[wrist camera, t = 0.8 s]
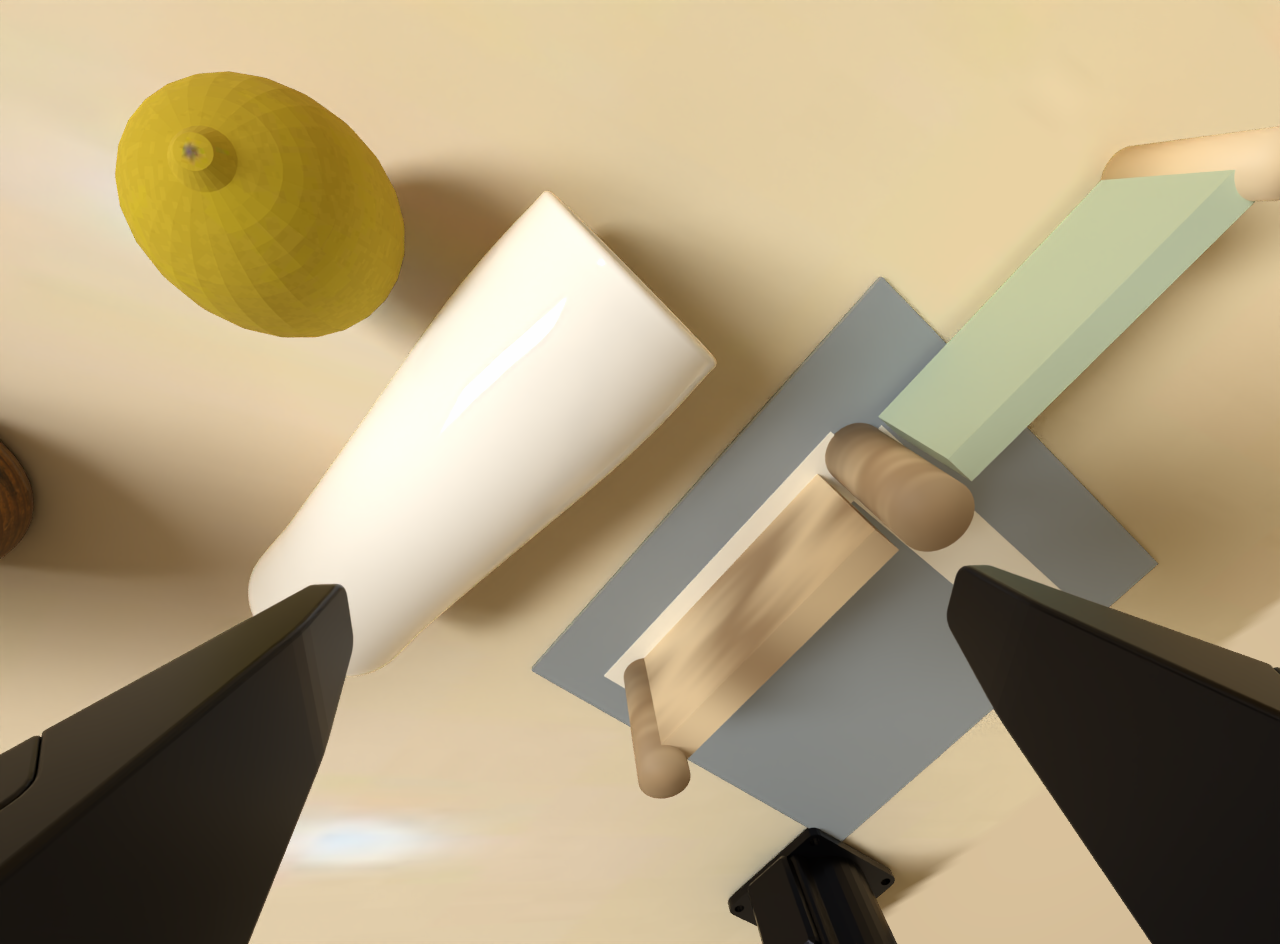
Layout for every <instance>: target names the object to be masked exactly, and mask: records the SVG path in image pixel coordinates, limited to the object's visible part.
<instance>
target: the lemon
mask: <svg viewBox="0 0 1280 944" xmlns="http://www.w3.org/2000/svg"><path fill="white" fill-rule="evenodd" d="M115 178H116V184H117V190H118V196H119V202H120V207H121V209H122V211H123V214H124V216H125V218H126V220H127V223H128V225H129V227H130V229H131V232H132V234H133V236H134V238H135V240H136V242H137V243H138V244H139V246H140V247H141V248H142V250H143V251H144V252H145V253H146V255H147V256H148V257H149V259H150V260H151V261H152V263H153V264H154V265H155V266H156V268H157V269H158V270H159V271H160V273H161V274H162V275H163V276H164V277H165V278H166V279H167V280H168V281H169V282H171V283H172V284H173V285H174V286H176V287H177V288H178V289H179V290H181V291H182V292H183V293H184V294H185V295H187V296H188V297H189V298H190V299H192V300H193V301H194V302H195V303H197V304H198V305H199V306H200V307H202V308H204V309H205V310H207V311H209V312H211V313H213V314H215V315H217V316H219V317H221V318H223V319H225V320H227V321H229V322H231V323H234V324H236V325H238V326H240V327H242V328H245V329H249V330H253V331H257V332H261V333H266V334H270V335H275V336H279V337H319V336H323V335H327V334H331V333H335V332H338V331H342V330H345V329H347V328H349V327H351V326H353V325H354V324H356V323H358V322H360V321H361V320H363V319H365V318H367V317H368V316H370V315H371V314H372V313H373V312H374V311H375V310H376V309H377V308H378V307H379V306H380V305H381V304H382V303H383V302H384V301H385V300H386V298H387V297H388V295H389V293H390V291H391V290H392V288H393V286H394V285H395V283H396V281H397V279H398V276H399V272H400V268H401V265H402V261H403V257H404V233H405V228H404V222H403V218H402V214H401V210H400V206H399V202H398V198H397V195H396V192H395V190H394V188H393V186H392V184H391V182H390V181H389V179H388V177H387V175H386V173H385V171H384V169H383V168H382V166H381V164H380V162H379V160H378V159H377V157H376V156H375V155H374V154H373V152H372V151H371V150H370V149H369V148H368V147H367V146H366V144H365V143H364V142H363V141H362V140H361V139H360V138H359V136H358V135H357V134H356V133H355V132H354V131H353V130H352V129H351V128H350V127H349V126H348V125H347V124H346V123H345V122H344V121H342V120H341V119H340V118H338V117H337V116H336V115H334V114H333V113H331V112H330V111H329V110H327V109H326V108H324V107H323V106H322V105H320V104H319V103H317V102H316V101H315V100H313V99H312V98H310V97H308V96H307V95H305V94H303V93H301V92H299V91H296V90H294V89H292V88H289V87H287V86H284V85H282V84H279V83H277V82H275V81H272V80H270V79H267V78H263V77H258V76H253V75H247V74H241V73H235V72H216V73H203V74H196V75H192V76H189V77H186V78H183V79H181V80H178V81H175V82H172V83H169V84H167V85H165V86H164V87H163V88H161V89H160V90H158V91H157V92H155V93H154V94H152V95H151V96H149V97H148V98H147V99H145V100H144V102H143V103H142V104H141V105H140V107H139V108H138V109H137V110H136V111H135V113H134V114H133V115H132V116H131V118H130V119H129V120H128V123H127V125H126V127H125V130H124V132H123V135H122V137H121V140H120V142H119V145H118V153H117V162H116V171H115Z"/></svg>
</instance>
